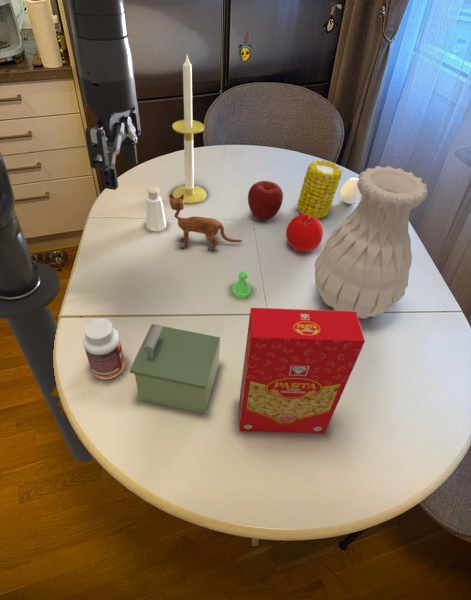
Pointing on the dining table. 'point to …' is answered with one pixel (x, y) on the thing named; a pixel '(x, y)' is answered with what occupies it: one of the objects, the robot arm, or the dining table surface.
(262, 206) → the apple
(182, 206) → the cat figurine
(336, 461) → the dining table surface
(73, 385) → the dining table surface
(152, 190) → the pepper shaker
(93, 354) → the pill bottle
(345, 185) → the egg
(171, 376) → the bread bin lid
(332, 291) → the vase
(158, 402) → the bin
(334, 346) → the food packaging
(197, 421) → the dining table surface
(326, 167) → the food
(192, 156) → the candle
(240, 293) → the game piece
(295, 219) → the fruit
